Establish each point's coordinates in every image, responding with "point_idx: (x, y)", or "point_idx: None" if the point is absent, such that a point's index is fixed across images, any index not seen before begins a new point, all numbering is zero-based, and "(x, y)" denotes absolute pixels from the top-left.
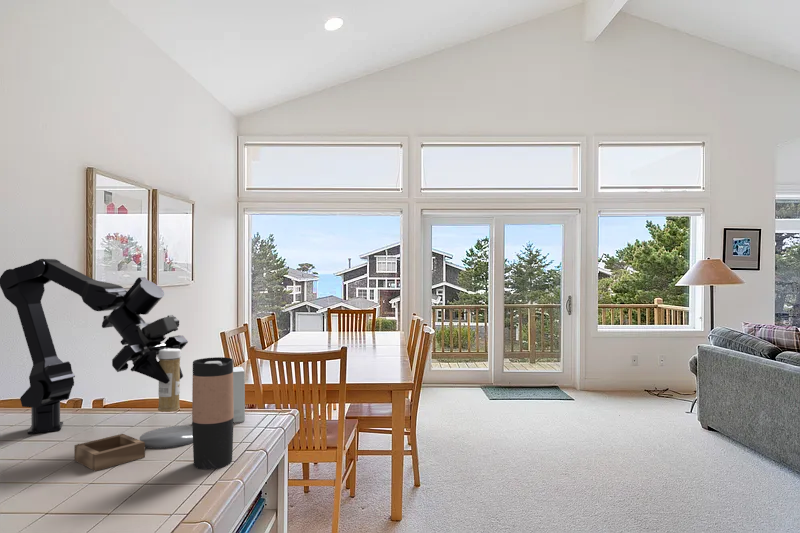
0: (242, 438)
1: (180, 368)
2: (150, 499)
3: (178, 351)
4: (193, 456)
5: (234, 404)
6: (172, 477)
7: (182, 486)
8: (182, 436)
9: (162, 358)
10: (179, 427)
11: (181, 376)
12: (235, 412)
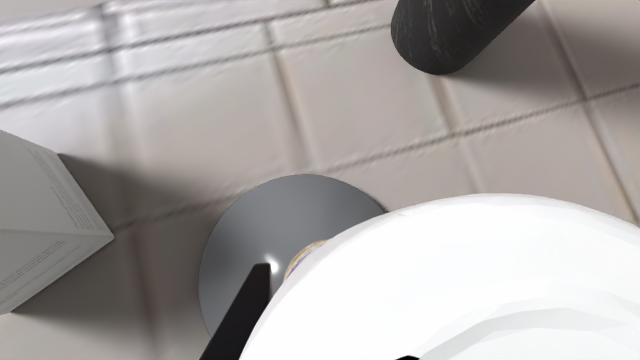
0: (240, 62)
1: (220, 325)
2: (627, 40)
3: (495, 193)
4: (479, 52)
5: (22, 160)
6: (536, 68)
7: (560, 20)
8: (317, 221)
9: None
10: (225, 311)
11: (270, 268)
12: (47, 167)
